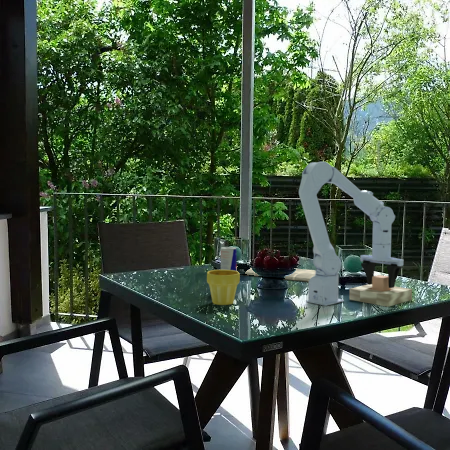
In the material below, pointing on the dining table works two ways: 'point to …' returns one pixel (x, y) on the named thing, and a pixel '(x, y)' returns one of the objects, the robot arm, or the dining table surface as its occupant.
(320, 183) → the robot arm
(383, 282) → the peg
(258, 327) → the dining table surface
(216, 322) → the dining table surface
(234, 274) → the plant pot
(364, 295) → the socket block
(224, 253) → the beverage can
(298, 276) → the newspaper
